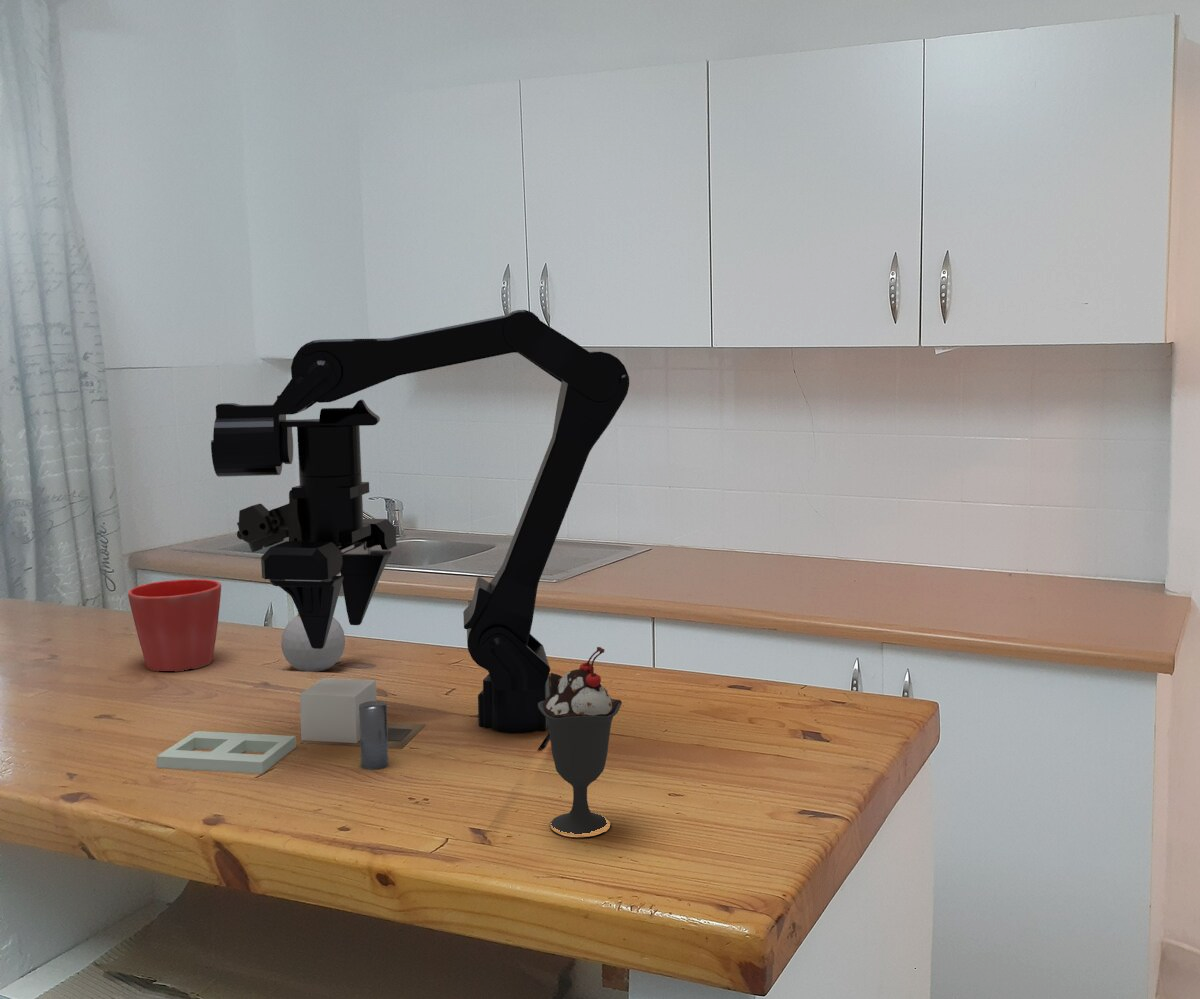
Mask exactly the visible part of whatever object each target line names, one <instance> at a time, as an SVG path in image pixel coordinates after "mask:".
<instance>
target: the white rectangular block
mask: <svg viewBox="0 0 1200 999" xmlns="http://www.w3.org/2000/svg"><path fill="white" fill-rule="evenodd" d="M369 701H377V680H374V679H359V678H358V679H355V678H354V679H353V678H334V677H333V678H331V677H327V678H326V677H322V678H320V679H319V680H318V681H317V682H315V683H313V684H312V685H311V686H309V687H308V688H306V689H305V690H303V691H302V692H301V693H299V709H300V710H299V712H300V713H299V714H300V716H299V717H300V737H301V738H300V739H301V741H304V740H308V741H327V742H346V743H357V742H358V741H359V740H360V721H359V705H360V704H361V703H364V702H369Z"/></svg>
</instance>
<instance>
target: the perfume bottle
mask: <svg viewBox="0 0 1200 999" xmlns="http://www.w3.org/2000/svg"><path fill="white" fill-rule="evenodd" d="M336 576H341V573H340V574H338V575H336ZM338 597H344V591H343V585H341V588H340V592H339V596H338ZM280 641H281V643H280V644H281V651H282V655H283V656H284V659H285V660H286V661H287V663H288V664H289V665H290V666H292V667H293V668H294V669H296V670H298V671H300V672H305V673H306V672H307V673H310V672H311V673H315V672H316V673H317V672H323V671H326V670H328V669H331V668H332V667H333V666H335V665H336V664H337V663H338V662H339V660H340V659H341V657H342V656H343V653H344V650H345V648H346V647H345V645H346V637H345V632H344V629H343V627H342V625H341V623H340V622H339V620H337V619H336V618H335V617H334V616H333V618H332V622H331V626H330V630H329V633H328V637H327V640H326V643H325V646H324V648H322V649H314V648H312V647H311V645H310V642H309V639H308V637H307V634H306V631H305V629H304V626H303V623H302V621H301V618H300V615H299V613H298V612H297V615H295V616H294V617H293V618H291V620H289V621H288V623H287V624H286V626H285V627H284V629H283V632H282V634H281V640H280Z"/></svg>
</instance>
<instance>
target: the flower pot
mask: <svg viewBox="0 0 1200 999" xmlns="http://www.w3.org/2000/svg"><path fill="white" fill-rule="evenodd" d="M221 583H222V582H220V581H217V580H212V579H203V578H202V579H200V578H199V579H198V578H197V579H196V578H192V579H191V578H189V579H187V578H186V579H173V580H172V579H171V580H161V581H155V582H149V583H145V584H141V585H138V586H135V587H133V588H131V589H129V590H128V592H127V593H128V594H127V595H128V601H129V605H130V610H131V613H132V618H133V622H134V626H135V630H136V633H137V634H136V635H137V638H138V641H139V645H140V647H141V648H140V649H141V652H142V656H143V659H144V662H145V666H146V667H147V670H150V671H152V672H153V671H154V672H159V671H175V672H182V671H184V670H185V671H188V670H189V669H191V670H192V669H193V670H195V669H199V668H203V667H206V666H207V665H209V664H211V663H212V662H213V660H214V654H215V653H214V652H215V646H216V639H217V634H218V633H217V632H218V624H219V617H220V616H219V615H220V606H221V605H220V604H221V595H222V584H221Z"/></svg>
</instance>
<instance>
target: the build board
mask: <svg viewBox="0 0 1200 999" xmlns="http://www.w3.org/2000/svg"><path fill="white" fill-rule="evenodd" d="M295 748H297V737H296V735H284V734H283V735H282V734H281V735H280V734H279V735H278V734H264V733H263V734H258V733H243V732H242V733H241V732H223V731H221V732H220V731H205V730H204V731H203V730H202V731H201V730H195V731H194V732H192V733H191V734H189V735H188V736H186V737H184V738H183V739H181V740H179V741H178V742H177V743H175V744H173V745H172V746H171V747H169V748H167V749H165V750H164V751H162V752H161V753H159V754H158V755H156V759H155V760H156V768H157V769H173V770H175V769H176V770H188V771H189V770H193V771H204V772H205V771H210V772H211V771H212V772H227V773H229V772H230V773H241V774H242V773H243V774H260V775H261V774H264V773H265V772H266V771H268V770H269V769H270V768H272V767H273V766H274V765H275V764H277V763H278V762H279V761H281V760H283V758H285V756H287V755H289V753H291V752H292V751H293V750H294V749H295ZM194 749H197V750H194ZM198 749H199V750H198ZM201 750H204V751H201ZM205 750H210V751H205ZM244 752H251V753H244ZM252 752H256V753H257V754H254V753H252ZM258 753H262V754H258Z"/></svg>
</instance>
